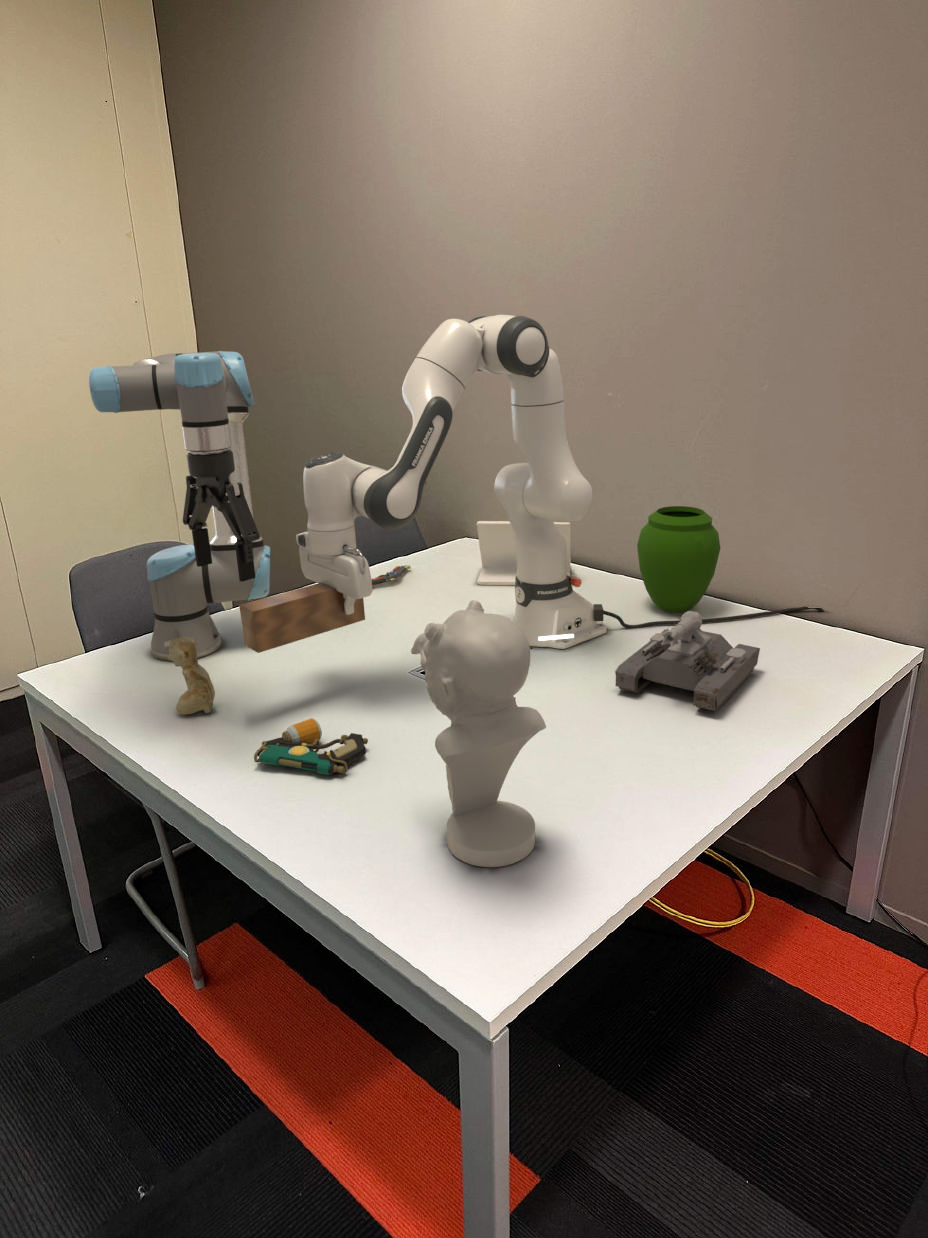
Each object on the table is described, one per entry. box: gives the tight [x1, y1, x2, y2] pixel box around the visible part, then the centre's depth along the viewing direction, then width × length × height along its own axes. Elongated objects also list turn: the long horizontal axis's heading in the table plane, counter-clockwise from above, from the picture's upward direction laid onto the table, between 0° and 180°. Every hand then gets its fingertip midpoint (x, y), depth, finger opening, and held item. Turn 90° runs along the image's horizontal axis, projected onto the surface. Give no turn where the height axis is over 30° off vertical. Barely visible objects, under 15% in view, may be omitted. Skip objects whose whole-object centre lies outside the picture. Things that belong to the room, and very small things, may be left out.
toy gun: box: [371, 564, 412, 587], centre depth 239 cm, size 3×19×10 cm
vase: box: [636, 505, 721, 614], centre depth 206 cm, size 20×20×24 cm
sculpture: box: [168, 637, 216, 716], centre depth 162 cm, size 6×7×15 cm
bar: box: [238, 583, 366, 654], centre depth 162 cm, size 23×5×8 cm, turn 130°
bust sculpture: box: [410, 599, 547, 868], centre depth 121 cm, size 16×24×35 cm
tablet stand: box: [476, 520, 572, 586], centre depth 236 cm, size 18×25×17 cm
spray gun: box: [253, 717, 369, 776], centre depth 146 cm, size 4×17×15 cm
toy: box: [614, 610, 761, 712], centre depth 168 cm, size 25×20×15 cm
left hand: (225, 572), depth 150 cm, fingers open, 13 cm apart
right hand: (339, 609), depth 167 cm, fingers closed on bar, 5 cm apart
